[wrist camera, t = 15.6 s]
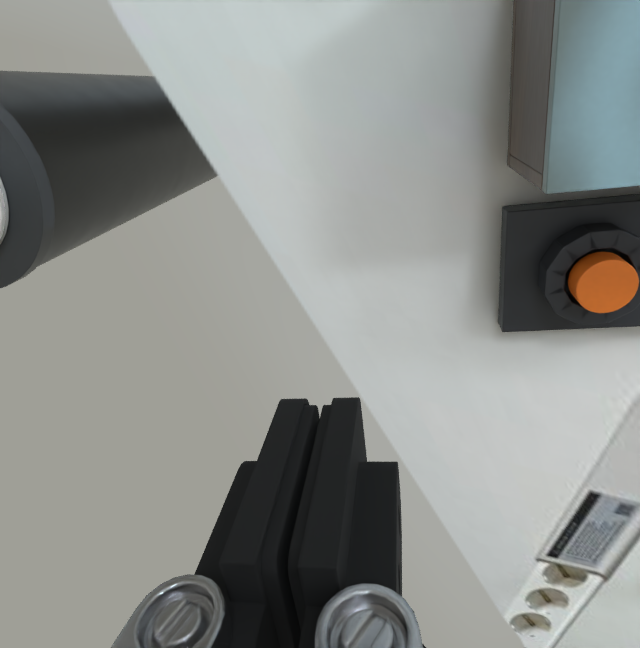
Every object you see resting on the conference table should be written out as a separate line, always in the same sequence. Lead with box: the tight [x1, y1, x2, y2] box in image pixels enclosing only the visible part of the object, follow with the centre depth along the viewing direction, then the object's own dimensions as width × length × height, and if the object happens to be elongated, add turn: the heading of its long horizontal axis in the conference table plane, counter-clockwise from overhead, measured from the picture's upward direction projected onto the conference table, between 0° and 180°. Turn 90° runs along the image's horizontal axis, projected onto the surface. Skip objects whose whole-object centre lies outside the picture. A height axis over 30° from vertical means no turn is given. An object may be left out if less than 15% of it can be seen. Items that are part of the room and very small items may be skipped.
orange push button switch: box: [498, 194, 640, 332], centre depth 33 cm, size 11×9×4 cm
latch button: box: [568, 252, 639, 313], centre depth 31 cm, size 4×4×2 cm
